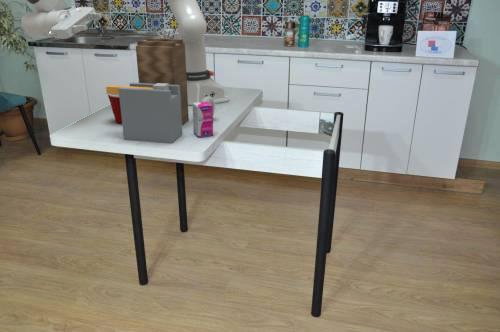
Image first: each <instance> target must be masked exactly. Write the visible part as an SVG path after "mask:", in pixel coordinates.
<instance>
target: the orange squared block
mask: <svg viewBox="0 0 500 332" xmlns="http://www.w3.org/2000/svg"><path fill="white" fill-rule="evenodd" d="M121 87H123V88H141V89H158V90H169V84H166V83H157V84H155V85H153V88H151V87H133V86H130V85H129V86H128V85H115V84H114V85H112V84H110V85H106V86H105V89H106V92H107V93H106V95H107V94H118V95H119V88H121Z"/></svg>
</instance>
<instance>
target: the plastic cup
mask: <svg viewBox="0 0 500 332" xmlns="http://www.w3.org/2000/svg"><path fill="white" fill-rule="evenodd" d="M106 95H107V97H108V100H109V103H110V106H111V110H112V114H113V117H114V121H115V122H116V124H119V125H122V116H121V107H120V97H119V95H118V94H107V92H106Z"/></svg>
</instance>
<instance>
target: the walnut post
mask: <svg viewBox="0 0 500 332" xmlns="http://www.w3.org/2000/svg"><path fill="white" fill-rule="evenodd" d="M136 42H137V43H136V44H137V45H135V55H136V63H137V64H136V65H137V75H138V76H137V78H138V83H150V84H157V83H166V84H169V85H180V97H181V115H182V127H183V126H184V125H185V124H186V123H188V122H189V121H190V120H189V119H190V117H189V105H188V95H187V75H186V56H185V43H183V39H179V38H161V37H160V38H159V37H157V38H154V37H153V38H152V37H150V38H149V37H148V38H146V39H145V40H137V41H136Z"/></svg>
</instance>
